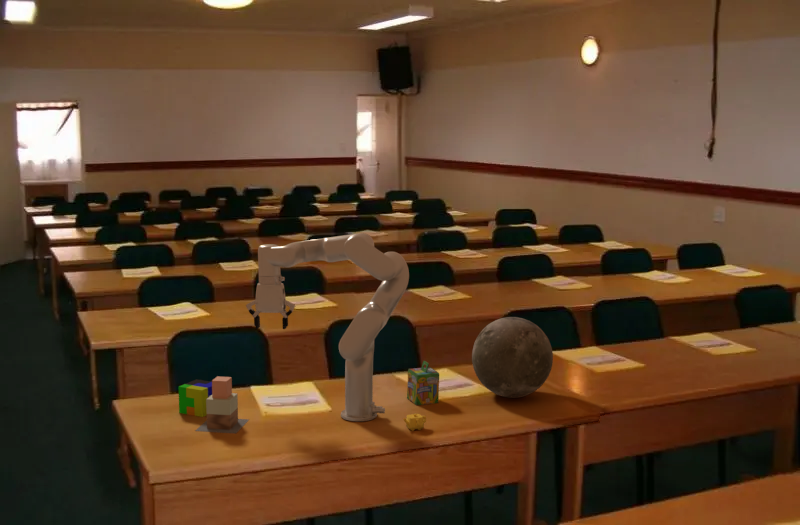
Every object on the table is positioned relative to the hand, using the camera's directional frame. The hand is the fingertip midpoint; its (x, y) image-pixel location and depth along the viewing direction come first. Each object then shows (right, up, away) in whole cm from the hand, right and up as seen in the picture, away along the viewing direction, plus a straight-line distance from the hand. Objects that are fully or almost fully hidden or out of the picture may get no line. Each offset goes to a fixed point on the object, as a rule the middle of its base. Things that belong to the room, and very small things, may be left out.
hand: (271, 328), depth 309 cm
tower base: (-14, -32, -13) cm, 37 cm away
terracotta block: (-14, -22, -15) cm, 30 cm away
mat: (-14, -32, -13) cm, 37 cm away
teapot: (+50, -33, -14) cm, 62 cm away
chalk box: (+54, -28, +16) cm, 63 cm away
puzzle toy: (-25, -30, +1) cm, 39 cm away
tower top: (-14, -27, -14) cm, 33 cm away
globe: (+87, -27, +23) cm, 94 cm away
